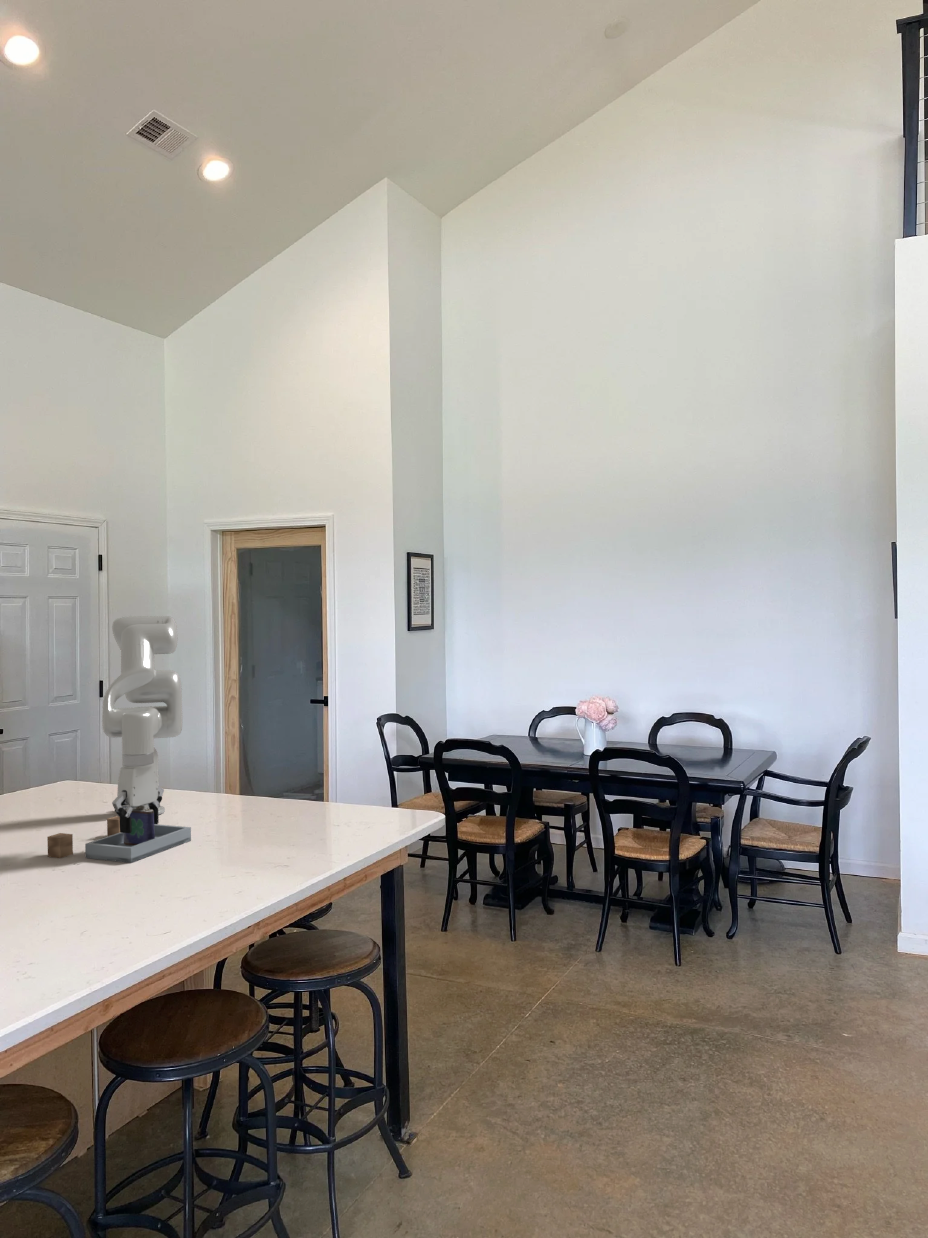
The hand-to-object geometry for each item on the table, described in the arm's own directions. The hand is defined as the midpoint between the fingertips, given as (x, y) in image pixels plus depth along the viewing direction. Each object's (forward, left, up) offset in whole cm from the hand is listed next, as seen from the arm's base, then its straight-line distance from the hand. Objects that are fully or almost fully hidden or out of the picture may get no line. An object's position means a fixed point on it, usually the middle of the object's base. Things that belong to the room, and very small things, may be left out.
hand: (139, 828), depth 230 cm
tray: (0, 0, -5) cm, 5 cm away
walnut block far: (-15, +9, -5) cm, 18 cm away
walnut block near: (-15, -11, -5) cm, 19 cm away
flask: (0, 0, -4) cm, 5 cm away
